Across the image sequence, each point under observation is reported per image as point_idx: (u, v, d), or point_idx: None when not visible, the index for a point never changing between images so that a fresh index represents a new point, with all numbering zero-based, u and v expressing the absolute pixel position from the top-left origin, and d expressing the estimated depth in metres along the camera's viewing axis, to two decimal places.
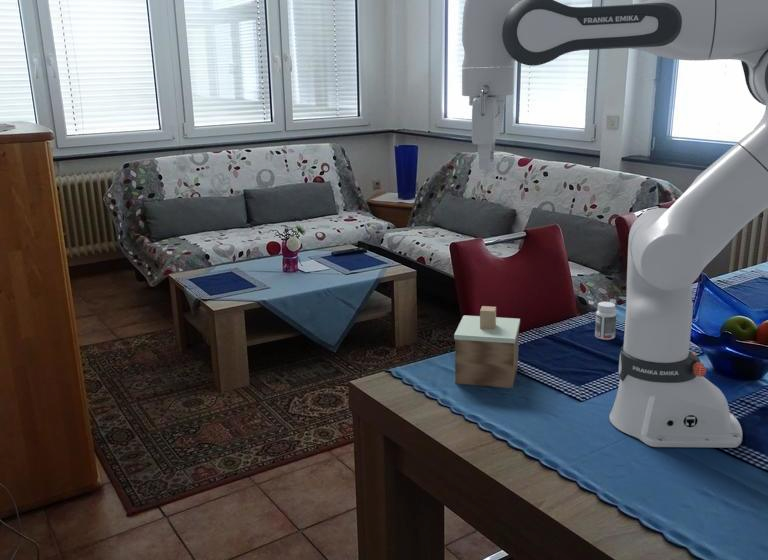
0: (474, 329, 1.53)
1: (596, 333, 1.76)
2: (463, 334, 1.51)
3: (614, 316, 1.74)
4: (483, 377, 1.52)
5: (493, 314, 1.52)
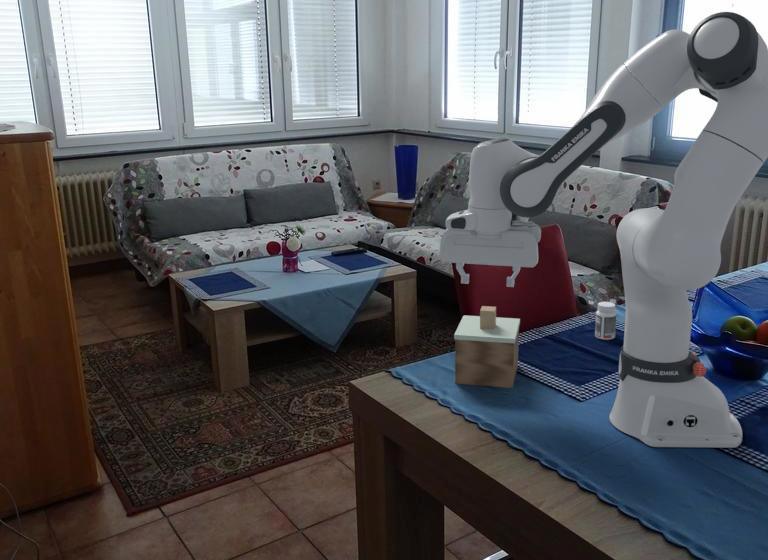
0: (474, 329, 1.53)
1: (596, 333, 1.76)
2: (463, 334, 1.51)
3: (614, 316, 1.74)
4: (483, 377, 1.52)
5: (493, 314, 1.52)
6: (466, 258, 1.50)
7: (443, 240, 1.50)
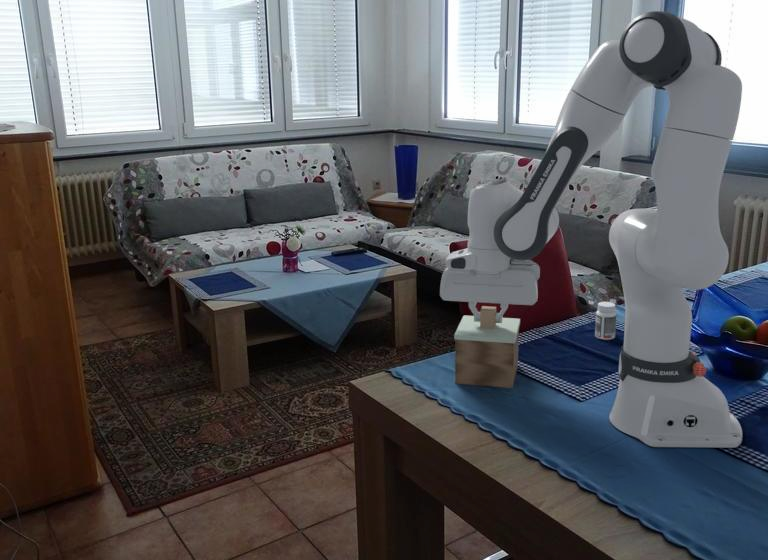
0: (474, 329, 1.53)
1: (596, 333, 1.76)
2: (463, 334, 1.51)
3: (614, 316, 1.74)
4: (483, 377, 1.52)
5: (493, 314, 1.52)
6: (466, 296, 1.52)
7: (443, 280, 1.52)
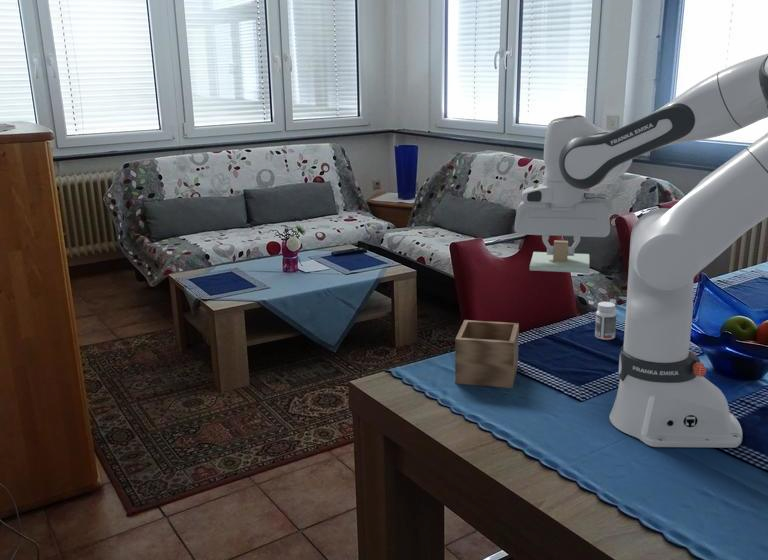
0: (548, 262, 1.59)
1: (596, 333, 1.76)
2: (538, 265, 1.57)
3: (614, 316, 1.74)
4: (483, 377, 1.52)
5: (566, 247, 1.58)
6: (541, 230, 1.58)
7: (518, 213, 1.58)
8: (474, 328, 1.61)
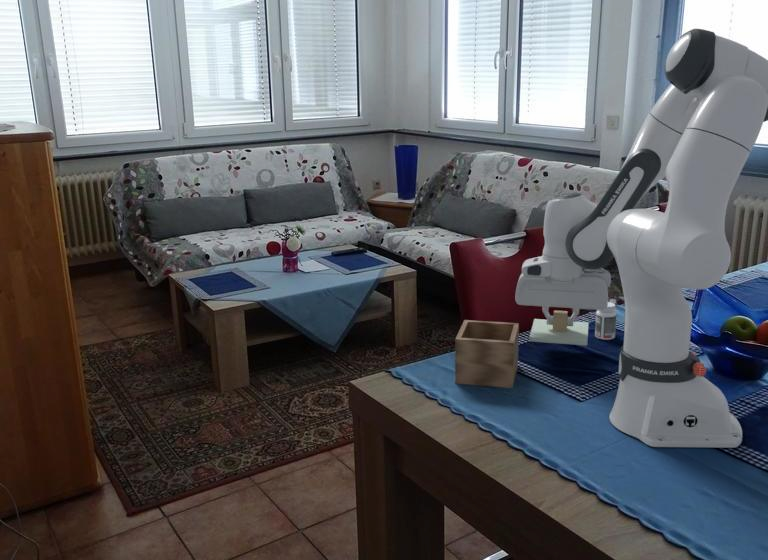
0: (547, 332, 1.64)
1: (596, 333, 1.76)
2: (538, 336, 1.62)
3: (614, 316, 1.74)
4: (483, 377, 1.52)
5: (565, 318, 1.63)
6: (541, 301, 1.63)
7: (519, 285, 1.63)
8: (474, 328, 1.61)
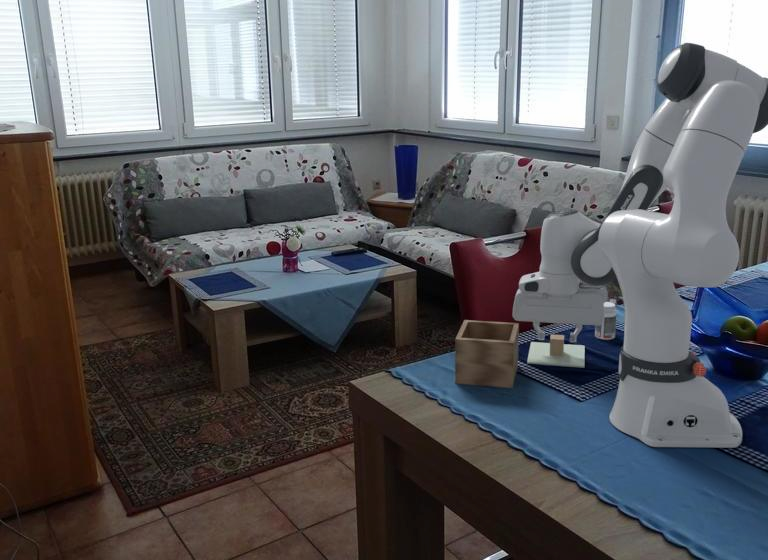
0: (544, 356, 1.65)
1: (596, 333, 1.76)
2: (535, 361, 1.63)
3: (614, 316, 1.74)
4: (483, 377, 1.52)
5: (562, 342, 1.64)
6: (538, 317, 1.64)
7: (516, 301, 1.64)
8: (474, 328, 1.61)
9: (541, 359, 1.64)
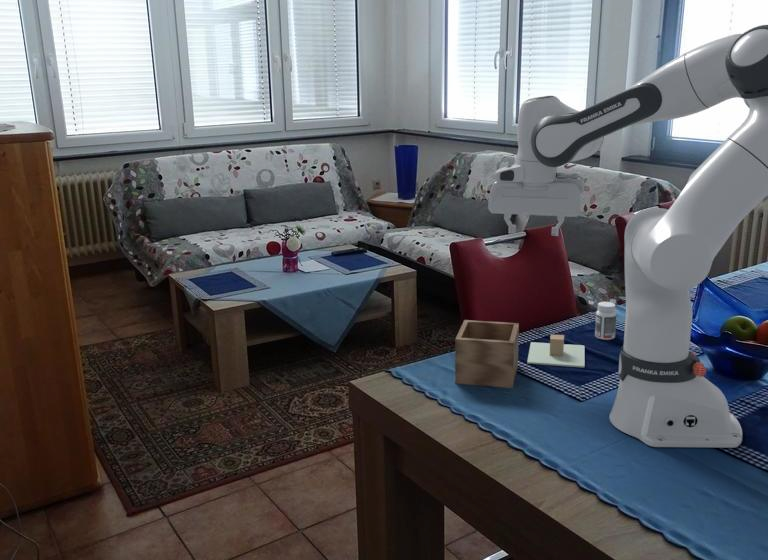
0: (544, 356, 1.65)
1: (596, 333, 1.76)
2: (535, 361, 1.63)
3: (614, 316, 1.74)
4: (483, 377, 1.52)
5: (562, 342, 1.64)
6: (514, 209, 1.61)
7: (492, 192, 1.61)
8: (474, 328, 1.61)
9: (541, 359, 1.64)
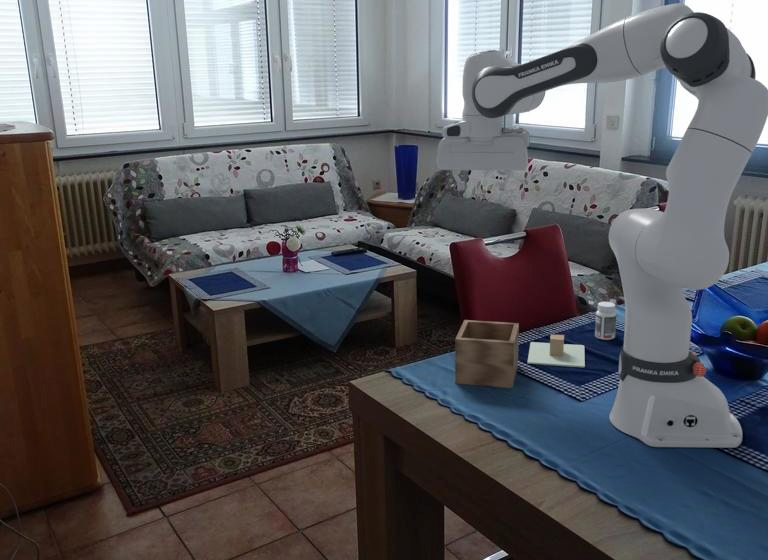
0: (545, 357, 1.65)
1: (596, 333, 1.76)
2: (535, 361, 1.63)
3: (614, 316, 1.74)
4: (483, 377, 1.52)
5: (562, 342, 1.64)
6: (461, 165, 1.63)
7: (440, 149, 1.63)
8: (474, 328, 1.61)
9: (541, 359, 1.64)
